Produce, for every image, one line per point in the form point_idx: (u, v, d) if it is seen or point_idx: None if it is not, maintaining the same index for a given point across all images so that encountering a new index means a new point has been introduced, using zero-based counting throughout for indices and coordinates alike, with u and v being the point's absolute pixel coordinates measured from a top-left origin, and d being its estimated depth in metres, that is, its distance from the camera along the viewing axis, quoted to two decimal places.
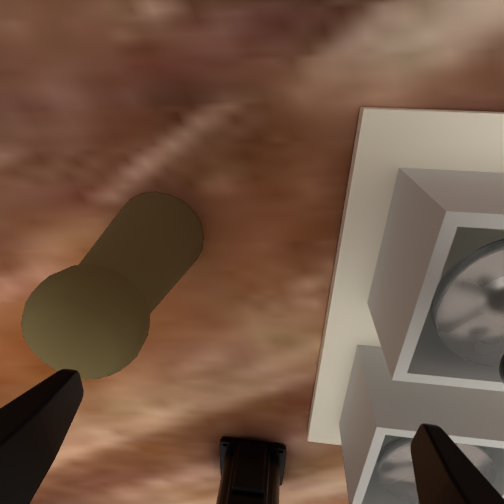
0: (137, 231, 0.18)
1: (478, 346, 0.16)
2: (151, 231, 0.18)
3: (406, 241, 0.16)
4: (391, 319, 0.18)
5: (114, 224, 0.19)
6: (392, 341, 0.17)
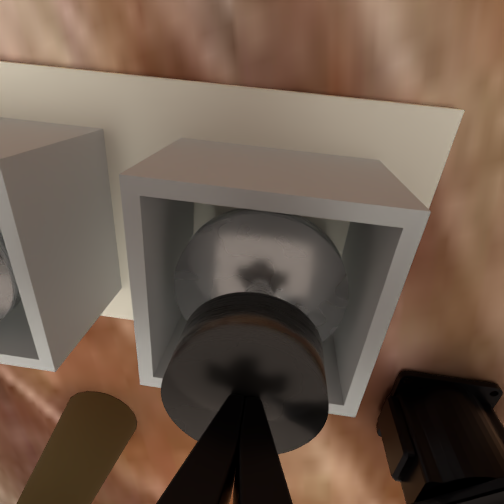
0: None
1: None
2: None
3: None
4: None
5: None
6: None
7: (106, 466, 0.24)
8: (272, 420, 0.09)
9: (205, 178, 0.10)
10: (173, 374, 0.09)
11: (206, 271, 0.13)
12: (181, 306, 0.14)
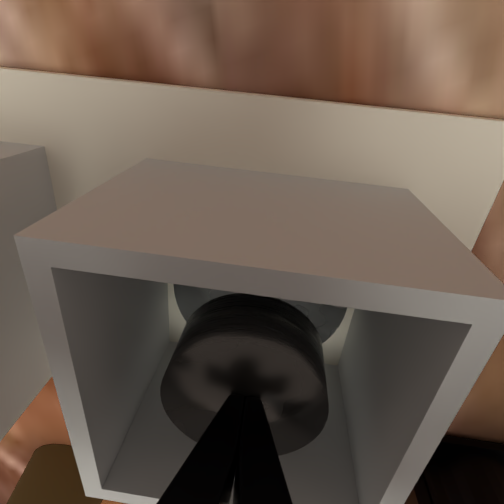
0: None
1: None
2: None
3: None
4: None
5: None
6: None
7: None
8: (272, 422, 0.09)
9: (155, 237, 0.07)
10: (172, 375, 0.08)
11: None
12: (181, 307, 0.14)
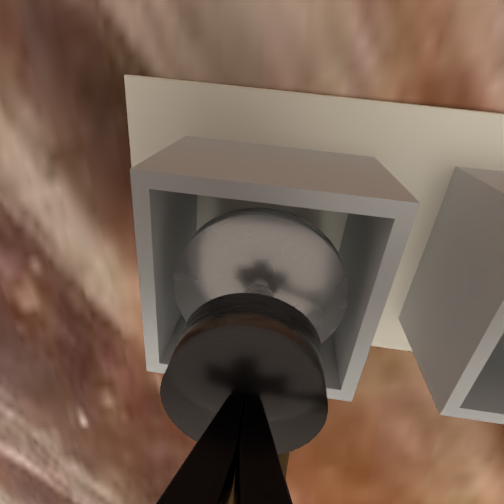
0: None
1: None
2: None
3: None
4: None
5: None
6: None
7: None
8: None
9: None
10: None
11: None
12: None
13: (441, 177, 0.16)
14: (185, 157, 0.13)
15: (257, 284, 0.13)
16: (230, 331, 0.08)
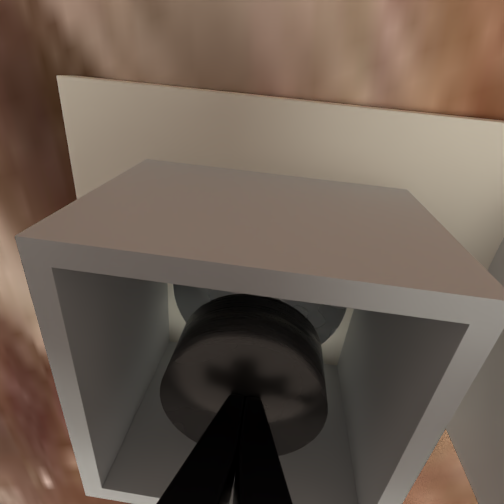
0: None
1: None
2: None
3: None
4: None
5: None
6: None
7: None
8: None
9: None
10: None
11: None
12: None
13: (499, 217, 0.12)
14: (127, 202, 0.08)
15: None
16: (230, 332, 0.08)
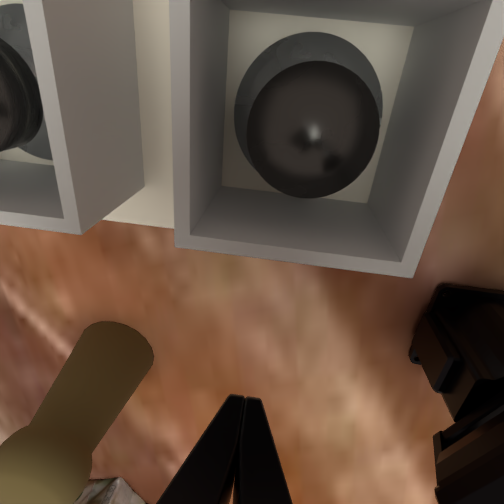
0: None
1: None
2: (57, 377, 0.23)
3: None
4: None
5: None
6: None
7: (124, 393, 0.23)
8: (333, 151, 0.11)
9: None
10: (259, 104, 0.11)
11: None
12: (238, 134, 0.16)
13: None
14: None
15: None
16: None
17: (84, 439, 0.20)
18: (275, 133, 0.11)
